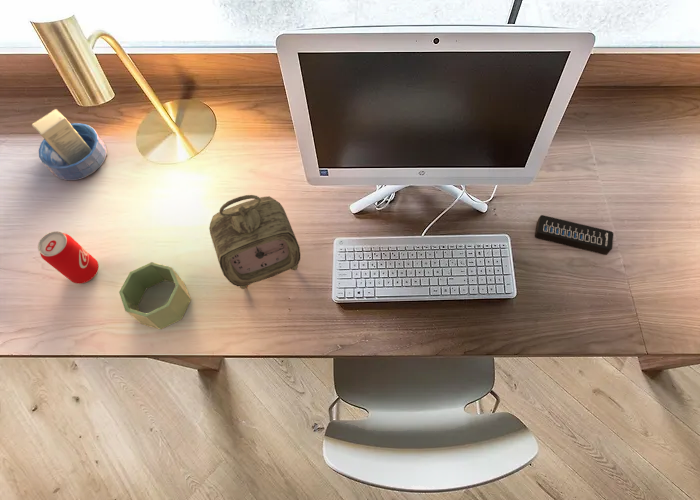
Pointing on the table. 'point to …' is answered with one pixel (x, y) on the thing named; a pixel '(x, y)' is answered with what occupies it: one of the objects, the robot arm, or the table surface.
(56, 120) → the cosmetic box
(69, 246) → the beverage can
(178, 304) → the green octagonal planter
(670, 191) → the table surface
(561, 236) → the multiport hub
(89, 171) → the bowl
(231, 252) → the tabletop clock
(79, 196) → the table surface
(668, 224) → the table surface
